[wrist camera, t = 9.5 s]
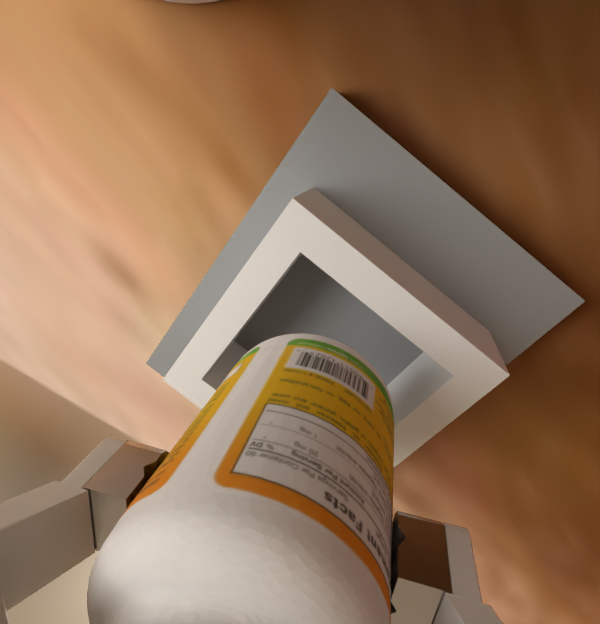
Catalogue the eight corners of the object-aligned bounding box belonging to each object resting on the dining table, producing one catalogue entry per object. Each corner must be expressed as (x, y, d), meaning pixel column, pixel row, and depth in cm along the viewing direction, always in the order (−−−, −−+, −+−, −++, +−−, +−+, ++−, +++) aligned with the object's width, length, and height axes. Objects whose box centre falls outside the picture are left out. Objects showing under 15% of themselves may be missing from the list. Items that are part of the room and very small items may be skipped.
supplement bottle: (261, 479, 15) (65, 946, 6) (206, 346, 14) (-155, 720, 5) (413, 465, 13) (435, 1069, 5) (371, 311, 12) (283, 785, 3)
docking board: (161, 350, 22) (100, 402, 18) (337, 92, 16) (312, 72, 12) (337, 484, 23) (321, 567, 19) (570, 288, 17) (632, 341, 12)
